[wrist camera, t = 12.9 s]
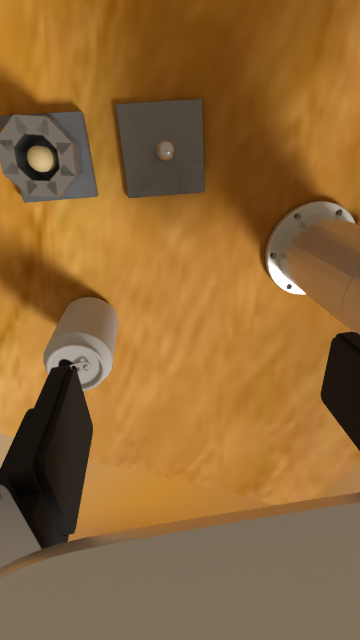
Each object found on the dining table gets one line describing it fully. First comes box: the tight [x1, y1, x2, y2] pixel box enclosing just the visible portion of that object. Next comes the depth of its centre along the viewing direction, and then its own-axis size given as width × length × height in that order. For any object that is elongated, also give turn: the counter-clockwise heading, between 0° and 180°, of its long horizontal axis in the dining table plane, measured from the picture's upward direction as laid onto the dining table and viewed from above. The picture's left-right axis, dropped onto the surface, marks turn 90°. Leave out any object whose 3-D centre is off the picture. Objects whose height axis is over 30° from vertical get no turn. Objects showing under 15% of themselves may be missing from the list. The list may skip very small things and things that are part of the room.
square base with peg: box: [0, 111, 98, 203], centre depth 30 cm, size 8×8×6 cm
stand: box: [116, 99, 205, 198], centre depth 31 cm, size 9×9×6 cm
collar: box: [0, 115, 83, 197], centre depth 30 cm, size 7×7×4 cm
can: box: [44, 297, 118, 391], centre depth 37 cm, size 8×8×12 cm
